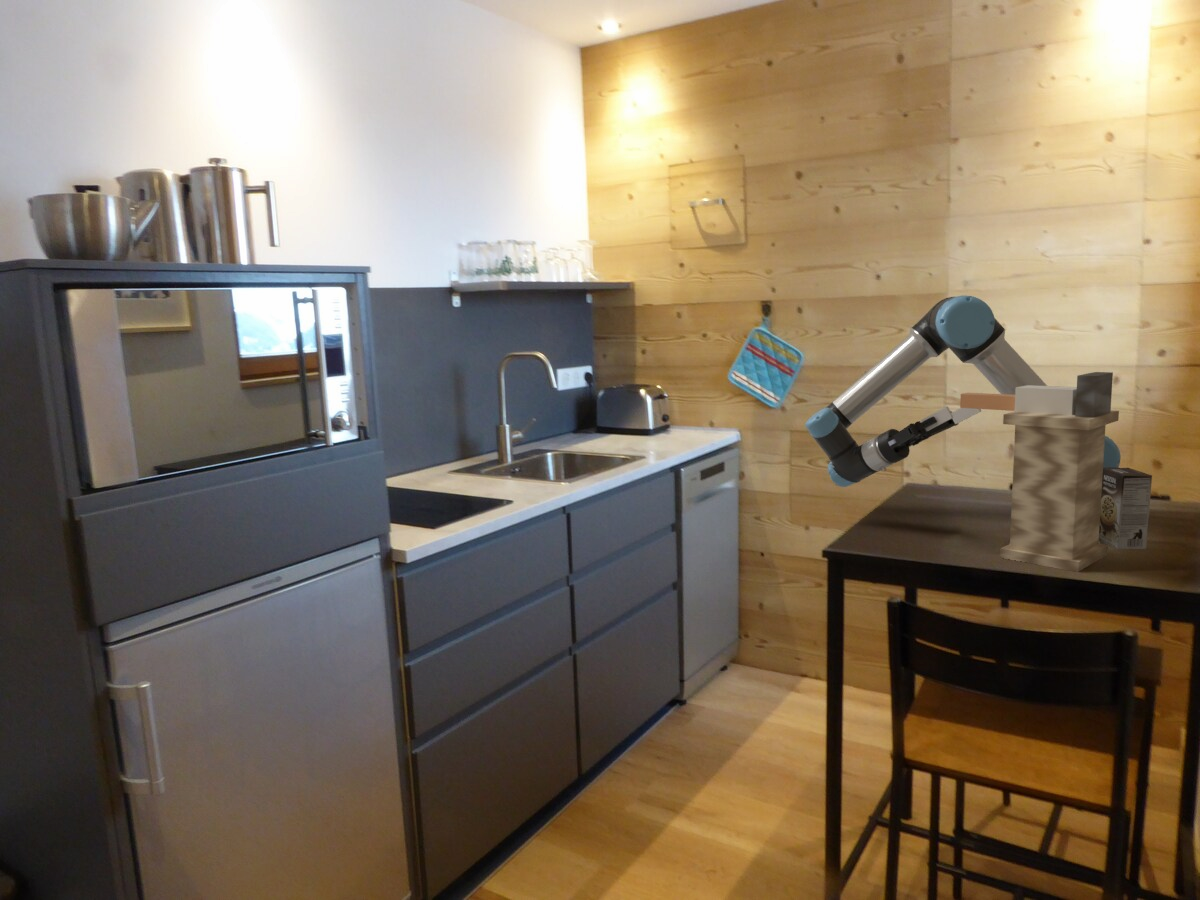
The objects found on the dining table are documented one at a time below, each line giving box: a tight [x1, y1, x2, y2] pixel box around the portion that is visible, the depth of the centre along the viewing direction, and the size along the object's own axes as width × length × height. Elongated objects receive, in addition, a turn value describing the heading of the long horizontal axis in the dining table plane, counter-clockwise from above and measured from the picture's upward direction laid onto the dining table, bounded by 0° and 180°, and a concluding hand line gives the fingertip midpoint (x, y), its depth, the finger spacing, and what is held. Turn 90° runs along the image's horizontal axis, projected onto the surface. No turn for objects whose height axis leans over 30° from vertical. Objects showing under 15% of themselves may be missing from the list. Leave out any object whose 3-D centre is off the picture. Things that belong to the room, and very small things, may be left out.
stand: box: [999, 371, 1120, 573], centre depth 178 cm, size 16×17×38 cm
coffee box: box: [1099, 467, 1153, 550], centre depth 187 cm, size 9×6×16 cm
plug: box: [959, 385, 1077, 415], centre depth 182 cm, size 24×6×5 cm, turn 43°
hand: (964, 408), depth 191 cm, fingers open, 13 cm apart
